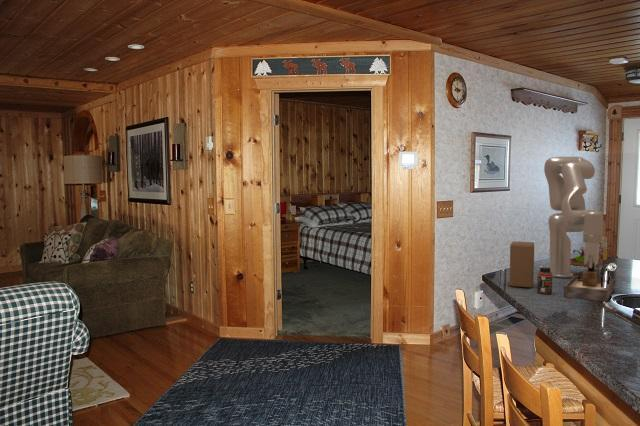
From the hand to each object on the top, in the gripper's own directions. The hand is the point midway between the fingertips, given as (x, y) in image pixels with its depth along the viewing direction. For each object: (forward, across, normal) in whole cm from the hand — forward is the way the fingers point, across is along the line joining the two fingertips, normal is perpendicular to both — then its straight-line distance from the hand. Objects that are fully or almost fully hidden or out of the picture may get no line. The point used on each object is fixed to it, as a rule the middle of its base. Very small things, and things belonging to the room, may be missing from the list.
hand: (591, 280), depth 221 cm
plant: (+5, -67, -12) cm, 68 cm away
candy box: (+4, -86, -6) cm, 86 cm away
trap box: (+4, +6, 0) cm, 8 cm away
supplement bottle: (+5, +17, -16) cm, 24 cm away
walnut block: (+1, +5, 0) cm, 5 cm away
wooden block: (+5, +6, -28) cm, 29 cm away
